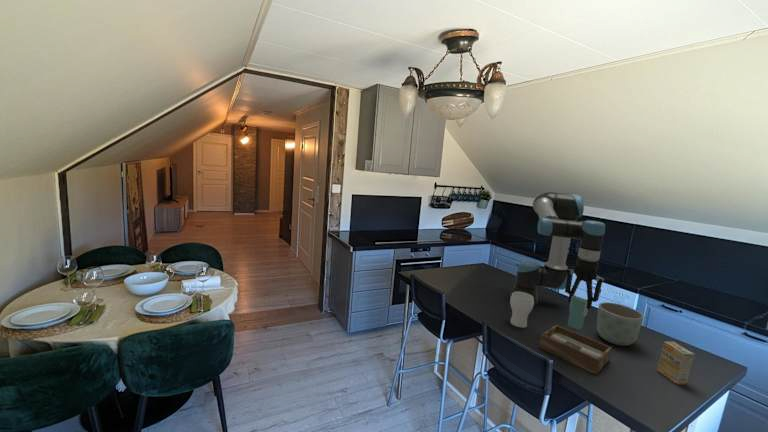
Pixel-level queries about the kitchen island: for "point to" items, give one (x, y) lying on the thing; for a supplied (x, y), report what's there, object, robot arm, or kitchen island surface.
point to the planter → (618, 323)
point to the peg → (576, 313)
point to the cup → (521, 308)
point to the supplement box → (675, 362)
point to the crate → (575, 348)
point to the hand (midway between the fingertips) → (577, 312)
